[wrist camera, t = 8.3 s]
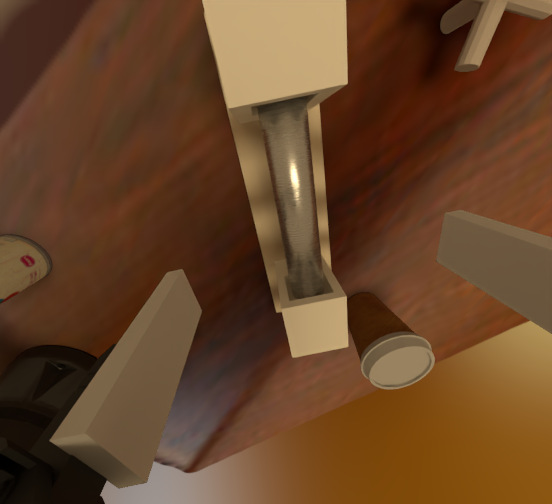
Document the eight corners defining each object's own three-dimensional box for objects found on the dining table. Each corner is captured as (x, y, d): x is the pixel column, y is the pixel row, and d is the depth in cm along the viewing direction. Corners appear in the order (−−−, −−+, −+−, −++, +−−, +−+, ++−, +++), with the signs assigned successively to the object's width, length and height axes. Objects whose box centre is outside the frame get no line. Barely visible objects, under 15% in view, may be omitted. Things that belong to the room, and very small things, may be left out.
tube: (320, 277, 28) (329, 297, 24) (288, 283, 28) (293, 305, 24) (294, 30, 17) (305, -3, 13) (242, 41, 17) (238, 11, 13)
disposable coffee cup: (323, 312, 38) (350, 377, 27) (363, 275, 35) (410, 332, 24) (358, 332, 41) (394, 398, 30) (397, 300, 38) (452, 361, 27)
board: (332, 299, 36) (333, 301, 36) (276, 310, 37) (276, 312, 36) (309, -6, 20) (311, -10, 19) (205, 16, 20) (203, 13, 19)
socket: (309, 110, 24) (347, 83, 14) (240, 124, 24) (228, 108, 14) (301, 25, 21) (344, -89, 11) (221, 42, 21) (189, -55, 11)
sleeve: (323, 291, 36) (348, 346, 26) (282, 299, 36) (292, 357, 26) (318, 250, 32) (346, 296, 22) (273, 259, 32) (281, 309, 22)
